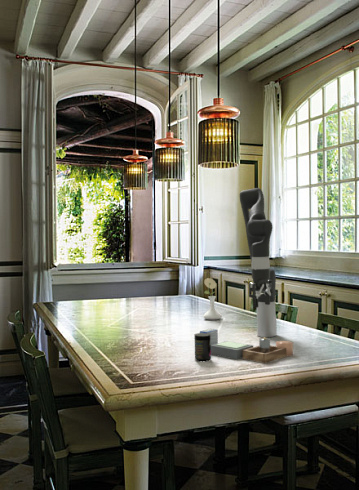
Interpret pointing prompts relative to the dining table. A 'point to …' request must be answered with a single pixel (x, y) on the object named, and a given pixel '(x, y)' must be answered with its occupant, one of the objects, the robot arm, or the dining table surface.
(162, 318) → the dining table surface
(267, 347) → the cell
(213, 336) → the medicine box
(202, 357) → the supplement container
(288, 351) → the peach dome knob
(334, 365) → the dining table surface
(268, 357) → the brown wooden tray
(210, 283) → the flower in vase
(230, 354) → the checker base
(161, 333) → the dining table surface
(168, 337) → the dining table surface
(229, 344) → the pale green panel
